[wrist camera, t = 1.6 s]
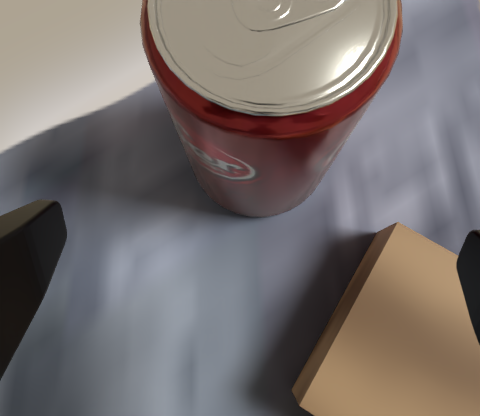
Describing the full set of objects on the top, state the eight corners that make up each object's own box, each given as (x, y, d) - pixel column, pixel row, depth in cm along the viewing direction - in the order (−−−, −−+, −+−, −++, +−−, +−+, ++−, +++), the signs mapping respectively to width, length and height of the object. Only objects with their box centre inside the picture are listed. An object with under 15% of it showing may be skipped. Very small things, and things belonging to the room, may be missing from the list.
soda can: (208, 234, 22) (165, 159, 10) (179, 110, 23) (111, -84, 11) (341, 201, 22) (453, 89, 10) (304, 80, 23) (363, -138, 12)
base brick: (462, 499, 19) (503, 537, 16) (291, 389, 20) (299, 405, 17) (539, 325, 20) (589, 329, 17) (376, 232, 21) (397, 221, 19)
